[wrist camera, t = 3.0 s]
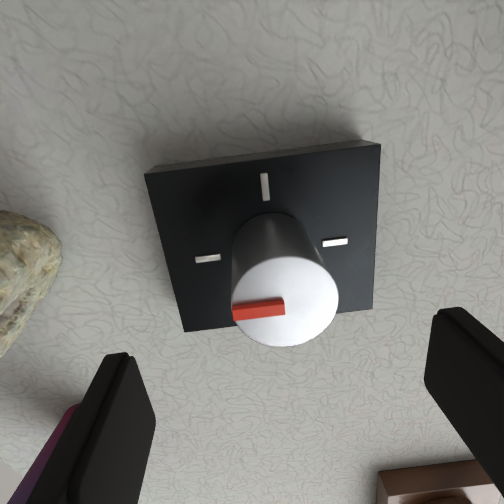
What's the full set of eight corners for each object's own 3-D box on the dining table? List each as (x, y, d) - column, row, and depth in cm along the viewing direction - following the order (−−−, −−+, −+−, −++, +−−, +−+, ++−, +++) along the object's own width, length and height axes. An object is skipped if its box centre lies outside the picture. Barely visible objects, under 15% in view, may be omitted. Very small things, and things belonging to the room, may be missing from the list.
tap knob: (308, 207, 17) (341, 252, 12) (311, 278, 19) (341, 345, 13) (226, 217, 17) (222, 267, 12) (237, 288, 19) (238, 358, 13)
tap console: (362, 139, 18) (382, 144, 16) (358, 288, 22) (373, 310, 20) (154, 165, 18) (142, 174, 16) (189, 309, 22) (183, 334, 20)
